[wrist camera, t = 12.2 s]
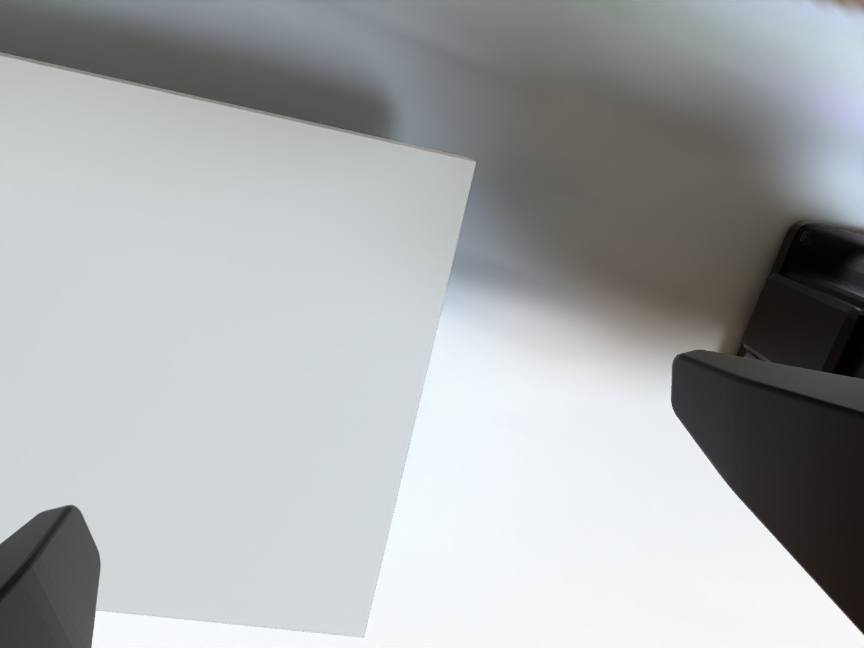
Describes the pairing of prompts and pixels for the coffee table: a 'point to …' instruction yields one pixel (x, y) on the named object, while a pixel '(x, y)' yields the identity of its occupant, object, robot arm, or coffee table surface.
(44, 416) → the caster cart
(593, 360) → the coffee table surface
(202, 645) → the coffee table surface
